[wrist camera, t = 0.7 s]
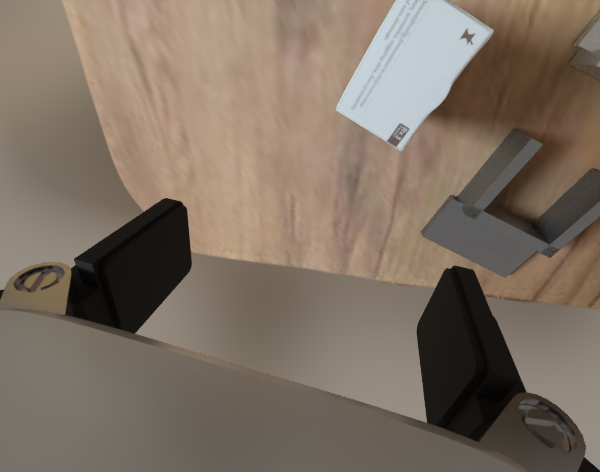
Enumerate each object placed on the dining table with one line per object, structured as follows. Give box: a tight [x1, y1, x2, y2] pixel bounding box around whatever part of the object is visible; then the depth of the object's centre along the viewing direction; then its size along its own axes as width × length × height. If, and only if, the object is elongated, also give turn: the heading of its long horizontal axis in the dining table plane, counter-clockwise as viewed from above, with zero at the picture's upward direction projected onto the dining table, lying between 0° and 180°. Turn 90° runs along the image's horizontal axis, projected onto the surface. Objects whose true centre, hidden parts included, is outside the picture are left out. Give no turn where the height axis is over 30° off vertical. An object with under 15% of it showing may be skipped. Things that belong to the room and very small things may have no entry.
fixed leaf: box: [421, 128, 600, 278], centre depth 34 cm, size 15×12×4 cm
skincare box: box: [336, 0, 494, 151], centre depth 25 cm, size 8×6×15 cm
